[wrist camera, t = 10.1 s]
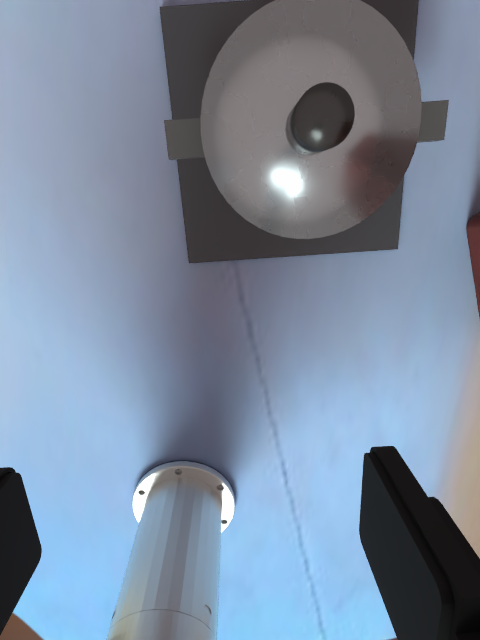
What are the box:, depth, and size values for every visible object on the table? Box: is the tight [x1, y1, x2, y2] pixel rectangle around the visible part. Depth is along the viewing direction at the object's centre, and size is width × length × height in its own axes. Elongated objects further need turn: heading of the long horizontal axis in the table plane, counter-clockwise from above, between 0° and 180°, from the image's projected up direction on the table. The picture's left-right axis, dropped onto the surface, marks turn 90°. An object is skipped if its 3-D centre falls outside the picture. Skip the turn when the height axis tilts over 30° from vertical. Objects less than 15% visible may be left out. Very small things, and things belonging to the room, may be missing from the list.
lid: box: [200, 0, 422, 239], centre depth 22 cm, size 14×14×5 cm
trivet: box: [160, 0, 418, 263], centre depth 32 cm, size 20×20×1 cm
